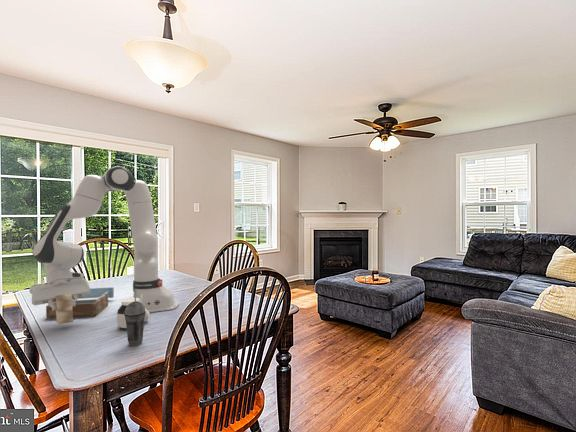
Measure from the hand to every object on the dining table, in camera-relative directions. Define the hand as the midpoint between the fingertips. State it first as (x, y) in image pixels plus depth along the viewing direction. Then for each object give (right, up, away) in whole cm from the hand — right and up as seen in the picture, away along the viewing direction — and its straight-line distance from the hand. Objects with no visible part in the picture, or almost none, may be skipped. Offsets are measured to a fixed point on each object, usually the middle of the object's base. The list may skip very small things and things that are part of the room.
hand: (64, 308), depth 132 cm
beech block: (0, -6, +1) cm, 6 cm away
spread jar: (+27, -9, +4) cm, 29 cm away
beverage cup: (+36, -9, -15) cm, 40 cm away
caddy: (-8, -8, +22) cm, 24 cm away
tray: (-10, -6, +31) cm, 33 cm away
